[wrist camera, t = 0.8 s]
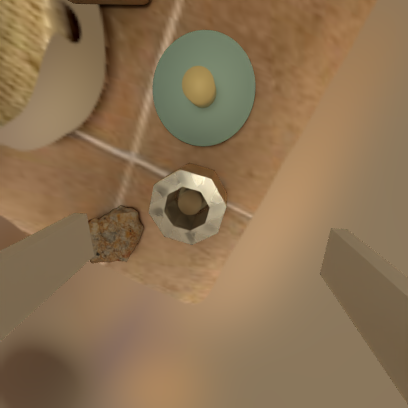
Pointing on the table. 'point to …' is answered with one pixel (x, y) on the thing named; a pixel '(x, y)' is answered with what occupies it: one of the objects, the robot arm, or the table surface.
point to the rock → (115, 235)
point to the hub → (204, 88)
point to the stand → (190, 201)
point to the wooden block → (111, 2)
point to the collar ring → (174, 218)
